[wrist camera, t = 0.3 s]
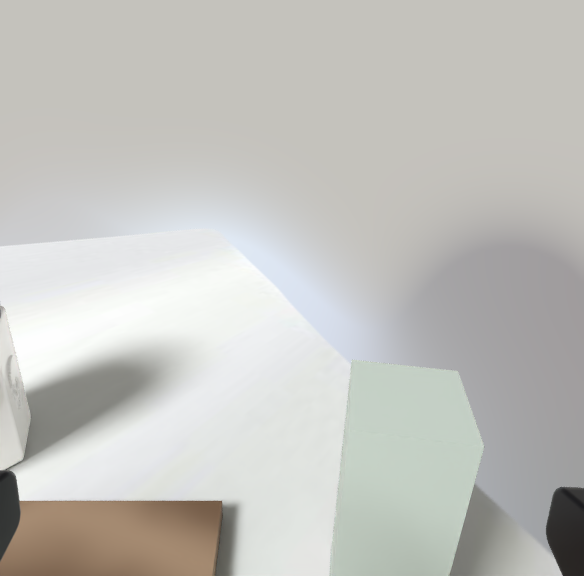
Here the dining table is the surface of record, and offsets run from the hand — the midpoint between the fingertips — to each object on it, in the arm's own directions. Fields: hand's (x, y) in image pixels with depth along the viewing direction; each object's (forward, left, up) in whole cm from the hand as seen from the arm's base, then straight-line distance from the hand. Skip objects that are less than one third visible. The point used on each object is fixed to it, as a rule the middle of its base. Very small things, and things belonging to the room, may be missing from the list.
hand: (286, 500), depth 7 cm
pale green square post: (+9, -5, -17) cm, 20 cm away
